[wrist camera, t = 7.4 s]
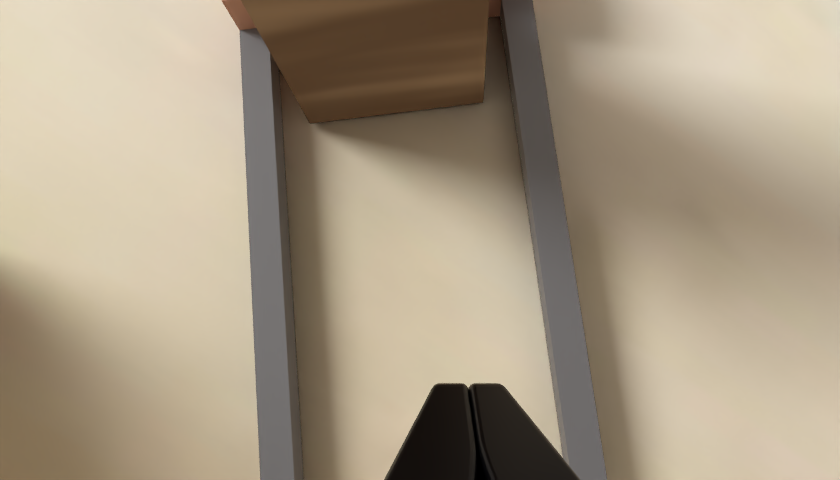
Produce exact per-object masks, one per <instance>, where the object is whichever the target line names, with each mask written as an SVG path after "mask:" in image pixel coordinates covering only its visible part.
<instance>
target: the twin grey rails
mask: <svg viewBox="0 0 840 480" xmlns="http://www.w3.org/2000/svg"><path fill="white" fill-rule="evenodd" d="M222 2H223V4H224V5H225V7H226V9H227V10H228V12H229V13H230V15H231V17H232V18H233V20H234V22H235V23H236V25H237V27H238V28H239V30H240V48H241V70H242V91H243V113H244V134H245V156H246V178H247V199H248V221H249V242H250V264H251V285H252V307H253V328H254V350H255V372H256V393H257V415H258V436H259V458H260V479H261V480H304V476H303V459H302V442H301V426H300V409H299V392H298V376H297V359H296V342H295V326H294V309H293V293H292V276H291V259H290V243H289V226H288V209H287V193H286V176H285V159H284V143H283V126H282V109H281V93H280V76H279V67H278V66H277V64H276V62H275V60H274V59H273V57H272V55H271V53H270V51H269V50H268V48H267V46H266V44H265V42H264V41H263V39H262V37H261V35H260V33H259V32H258V30H257V28H256V26H255V25H254V23H253V21H252V19H251V17H250V16H249V14H248V12H247V10H246V8H245V7H244V5H243V3H242V1H241V0H222ZM496 16H500V20H501V27H502V34H503V41H504V48H505V55H506V62H507V69H508V76H509V83H510V90H511V97H512V104H513V111H514V118H515V125H516V132H517V139H518V146H519V153H520V160H521V167H522V174H523V181H524V188H525V195H526V202H527V209H528V216H529V223H530V230H531V237H532V244H533V250H534V257H535V264H536V271H537V278H538V285H539V292H540V299H541V306H542V313H543V320H544V327H545V334H546V341H547V348H548V355H549V362H550V369H551V376H552V383H553V390H554V397H555V404H556V411H557V418H558V425H559V432H560V439H561V446H562V453H563V459H564V460H565V461H566V463H567V464H568V465H569V466H570V468H571V469H572V470H573V471H574V472H575V474H576V475H577V476H578V477H579V479H580V480H607V476H606V469H605V463H604V457H603V450H602V444H601V437H600V431H599V424H598V418H597V412H596V405H595V399H594V392H593V386H592V380H591V373H590V367H589V360H588V354H587V348H586V341H585V335H584V328H583V322H582V315H581V309H580V303H579V296H578V290H577V283H576V277H575V271H574V264H573V258H572V251H571V245H570V239H569V232H568V226H567V219H566V213H565V207H564V200H563V194H562V187H561V181H560V174H559V168H558V162H557V155H556V149H555V142H554V136H553V130H552V123H551V117H550V110H549V104H548V98H547V91H546V85H545V78H544V72H543V65H542V59H541V53H540V46H539V40H538V33H537V27H536V21H535V14H534V8H533V1H532V0H489V12H488V17H496Z"/></svg>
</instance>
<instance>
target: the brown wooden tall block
mask: <svg viewBox="0 0 840 480" xmlns="http://www.w3.org/2000/svg"><path fill="white" fill-rule="evenodd" d="M241 1H242V3H243V5H244V7H245V8H246V10H247V12H248V14H249V16H250V17H251V19H252V21H253V23H254V25H255V26H256V28H257V30H258V32H259V33H260V35H261V37H262V39H263V41H264V42H265V44H266V46H267V48H268V50H269V51H270V53H271V55H272V57H273V59H274V60H275V62H276V64H277V66H278V67H279V69H280V71H281V73H282V75H283V76H284V78H285V80H286V82H287V84H288V85H289V87H290V89H291V91H292V92H293V94H294V96H295V98H296V100H297V101H298V103H299V105H300V107H301V109H302V110H303V112H304V114H305V116H306V118H307V119H308V121H309V123H317V122H326V121H334V120H342V119H350V118H359V117H367V116H375V115H383V114H391V113H400V112H408V111H416V110H424V109H433V108H441V107H449V106H457V105H466V104H474V103H482V102H483V99H484V81H485V64H486V47H487V30H488V12H489V0H241Z"/></svg>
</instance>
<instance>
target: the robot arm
mask: <svg viewBox="0 0 840 480" xmlns="http://www.w3.org/2000/svg"><path fill="white" fill-rule="evenodd" d="M384 480H580V479H579V477H578V476H577V475H576V474H575V472H574V471H573V470H572V469H571V468H570V466H569V465H568V464H567V463H566V461H565V460H564V459H563V458H562V457H561V455H560V454H559V453H558V452H557V450H556V449H555V448H554V447H553V446H552V444H551V443H550V442H549V441H548V439H547V438H546V437H545V436H544V434H543V433H542V432H541V431H540V430H539V428H538V427H537V426H536V425H535V423H534V422H533V421H532V420H531V419H530V417H529V416H528V415H527V414H526V412H525V411H524V410H523V409H522V408H521V406H520V405H519V404H518V403H517V401H516V400H515V399H514V398H513V397H512V395H511V394H510V393H509V392H508V390H507V389H506V388H505V387H504V386H503V385H501V384H497V383H474V384H472V385H470V387H469V389H468V387H467V386H466V385H465V384H462V383H439V384H436V385H434V386H433V388H432V389H431V391H430V393H429V395H428V397H427V399H426V401H425V403H424V405H423V407H422V408H421V410H420V412H419V414H418V416H417V418H416V420H415V422H414V424H413V426H412V428H411V429H410V431H409V433H408V435H407V437H406V439H405V441H404V443H403V445H402V447H401V449H400V450H399V452H398V454H397V456H396V458H395V460H394V462H393V464H392V466H391V468H390V470H389V471H388V473H387V475H386V477H385V479H384Z"/></svg>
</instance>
